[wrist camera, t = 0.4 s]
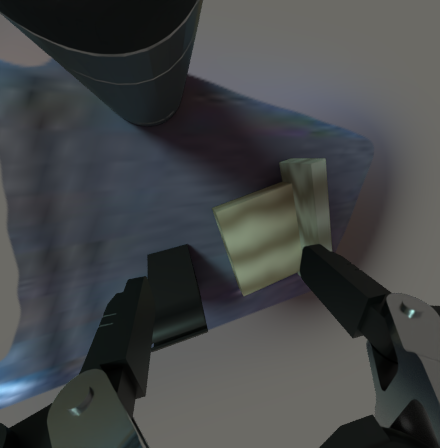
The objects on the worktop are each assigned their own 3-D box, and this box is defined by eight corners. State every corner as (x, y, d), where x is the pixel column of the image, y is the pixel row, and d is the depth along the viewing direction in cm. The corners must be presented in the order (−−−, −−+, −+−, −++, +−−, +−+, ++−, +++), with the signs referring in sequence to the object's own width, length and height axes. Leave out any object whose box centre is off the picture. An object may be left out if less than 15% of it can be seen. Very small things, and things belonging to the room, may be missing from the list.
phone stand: (199, 289, 32) (214, 356, 21) (164, 299, 31) (161, 376, 20) (187, 243, 29) (198, 294, 18) (147, 253, 28) (134, 315, 17)
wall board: (205, 189, 27) (217, 198, 21) (290, 158, 29) (325, 158, 22) (242, 299, 36) (258, 329, 29) (306, 270, 37) (335, 293, 31)
